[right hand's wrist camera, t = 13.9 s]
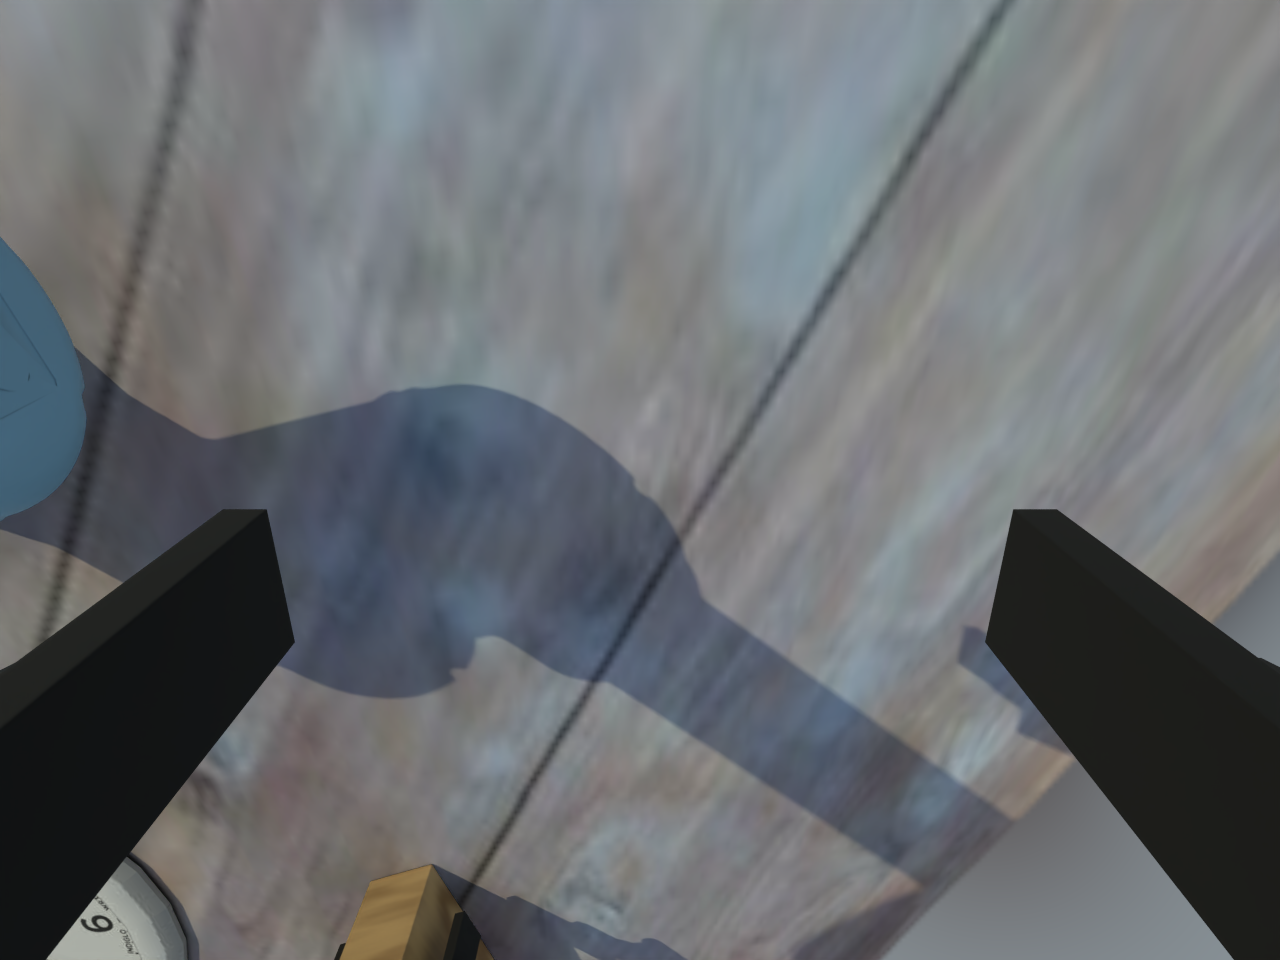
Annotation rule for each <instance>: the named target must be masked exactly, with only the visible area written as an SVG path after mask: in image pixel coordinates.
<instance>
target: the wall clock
mask: <svg viewBox="0 0 1280 960" xmlns="http://www.w3.org/2000/svg"><path fill="white" fill-rule="evenodd" d="M46 960H187V944H186V938H185V935H184V933H183V931H182V929H181V926H180V924H179V922H178V920H177V917H176V915H175V913H174V911H173V909H172V906H171V904H170V902H169V901H168V900H167V899H166V898H165V896H164V895H163V894H162V893H161V892H160V890H159V889H158V888H157V887H156V886H155V884H154V883H153V882H152V881H151V880H150V878H149V877H148V876H147V875H146V874H145V872H144V871H143V870H142V869H141V868H140V867H139V866H138V865H137V864H135V863H134V862H133V861H131V860H130V859H129V858H128V857H126V858H125V859H124V861H123V862H122V863H121V865H120V866H119V867H118V868H117V870H116V871H115V872H114V874H113V875H112V876H111V877H110V879H109V880H108V881H107V882H106V884H105V885H104V886H103V888H102V889H101V890H100V891H99V893H98V894H97V895H96V896H95V898H94V899H93V900H92V902H91V903H90V904H89V905H88V907H87V908H86V909H85V911H84V912H83V913H82V914H81V916H80V917H79V918H78V919H77V921H76V922H75V923H74V925H73V926H72V927H71V928H70V930H69V931H68V932H67V934H66V935H65V936H64V937H63V939H62V940H61V941H60V942H59V944H58V945H57V946H56V948H55V949H54V950H53V951H52V953H51V954H50V955H49V956H48V958H47V959H46Z"/></svg>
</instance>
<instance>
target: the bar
mask: <svg viewBox="0 0 1280 960" xmlns="http://www.w3.org/2000/svg"><path fill="white" fill-rule="evenodd" d="M459 912H463V911H462V910H461V908H460V907H459V905H458V903H457V902H456V900H455V899H454V897H453V896H452V894H451V893H450V891H449V890H448V888H447V887H446V885H445V884H444V882H443V880H442V879H441V877H440V876H439V874H438V873H437V871H436V870H435V868H434V867H433V865H432V864H431V865H427V866H424V867H420V868H417V869H413V870H409V871H406V872H402V873H399V874H395V875H392V876H388V877H384V878H381V879H377V880H374V881H371V882H370V884H369V887H368V889H367V892H366V894H365V897H364V899H363V902H362V904H361V907H360V909H359V912H358V914H357V917H356V919H355V922H354V925H353V927H352V930H351V932H350V935H349V937H348V940H347V942H346V945H345V947H344V950H343V952H342V955H341V957H340V960H443V957H444V954H445V950H446V946H447V942H448V938H449V934H450V931H451V927H452V923H453V919H454V915H455V913H459ZM476 960H494V959H493V957H492V956H491V954H490V953H489V951H488V949H487V948H486V946H485V945H484V943H483V942H482V940H481V939H480V942H479V947H478V951H477V956H476Z"/></svg>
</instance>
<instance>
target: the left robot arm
mask: <svg viewBox="0 0 1280 960" xmlns="http://www.w3.org/2000/svg"><path fill="white" fill-rule="evenodd" d="M84 388H85V384H84V380H83V375H82V371H81V367H80V363H79V360H78V357H77V355H76V352H75V349H74V346H73V343H72V341H71V338H70V336H69V334H68V331H67V329H66V327H65V325H64V323H63V322H62V320H61V318H60V316H59V314H58V312H57V310H56V309H55V307H54V305H53V304H52V302H51V300H50V299H49V297H48V296H47V294H46V293H45V291H44V289H43V288H42V287H41V285H40V284H39V282H38V281H37V280H36V278H35V277H34V275H33V274H32V273H31V271H30V270H29V269H28V267H27V266H26V265H25V264H24V263H23V261H22V260H21V259H20V258H19V257H18V256H17V255H16V254H15V252H14V251H13V250H12V249H11V248H10V247H9V246H8V245H7V244H6V243H5V242H4V241H3V239H2V238H1V237H0V521H2V520H3V519H4V518H5V517H7V516H10V515H13V514H16V513H19V512H22V511H24V510H26V509H28V508H30V507H32V506H34V505H36V504H38V503H39V502H41V501H42V500H44V499H45V498H47V497H48V496H49V495H50V494H51V493H53V492H54V491H55V490H56V489H57V488H58V487H59V486H60V485H61V484H62V483H63V481H64V480H65V479H66V477H67V476H68V475H69V473H70V472H71V470H72V468H73V466H74V465H75V463H76V461H77V458H78V456H79V454H80V451H81V448H82V445H83V440H84V436H85V429H86V420H87V417H86V411H85V409H84V404H83V399H82V393H83V391H84ZM480 938H481V935H480V934H479V932H478V931H477V929H476V928H475V926H474V925H473V923H472V922H471V920H470V919H469V917H468V916H467V914H466V912H465V911H463V912H459V913H455V915H454V919H453V923H452V927H451V931H450V934H449V938H448V942H447V946H446V950H445V954H444V957H443V960H476V956H477V951H478V947H479V942H480ZM345 945H346V943H344V944H341V945H340V947H339V949H338V952H337V954H336V957H335V959H334V960H340V957H341V955H342V952H343V950H344V947H345Z"/></svg>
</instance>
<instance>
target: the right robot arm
mask: <svg viewBox="0 0 1280 960" xmlns="http://www.w3.org/2000/svg"><path fill="white" fill-rule="evenodd" d="M294 643H295V641H294V636H293V631H292V627H291V622H290V617H289V612H288V608H287V603H286V598H285V594H284V589H283V584H282V579H281V575H280V570H279V565H278V561H277V556H276V551H275V546H274V542H273V537H272V532H271V528H270V523H269V518H268V513H267V509H223V510H222V511H220V512H219V513H218V514H216V515H215V516H214V517H212V518H211V519H209V520H208V521H207V522H205V523H204V524H203V525H201V526H200V527H199V528H197V529H196V530H195V531H193V532H192V533H191V534H189V535H188V536H186V537H185V538H184V539H182V540H181V541H180V542H178V543H177V544H176V545H174V546H173V547H172V548H170V549H169V550H167V551H166V552H165V553H163V554H162V555H161V556H159V557H158V558H157V559H155V560H154V561H153V562H151V563H150V564H149V565H147V566H146V567H144V568H143V569H142V570H140V571H139V572H138V573H136V574H135V575H134V576H132V577H131V578H130V579H128V580H127V581H126V582H124V583H123V584H121V585H120V586H119V587H117V588H116V589H115V590H113V591H112V592H111V593H109V594H108V595H107V596H105V597H104V598H102V599H101V600H100V601H98V602H97V603H96V604H94V605H93V606H92V607H90V608H89V609H88V610H86V611H85V612H84V613H82V614H81V615H79V616H78V617H77V618H75V619H74V620H73V621H71V622H70V623H69V624H67V625H66V626H65V627H63V628H62V629H61V630H59V631H58V632H56V633H55V634H54V635H52V636H51V637H50V638H48V639H47V640H46V641H44V642H43V643H42V644H40V645H39V646H37V647H36V648H35V649H33V650H32V651H31V652H29V653H28V654H27V655H25V656H24V657H23V658H21V659H20V660H19V661H17V662H16V663H14V664H12V665H10V666H8V667H6V668H4V669H2V670H0V960H46V959H47V958H48V956H49V955H50V954H51V953H52V951H53V950H54V949H55V948H56V946H57V945H58V944H59V942H60V941H61V940H62V939H63V937H64V936H65V935H66V934H67V932H68V931H69V930H70V928H71V927H72V926H73V925H74V923H75V922H76V921H77V919H78V918H79V917H80V916H81V914H82V913H83V912H84V911H85V909H86V908H87V907H88V905H89V904H90V903H91V902H92V900H93V899H94V898H95V896H96V895H97V894H98V893H99V891H100V890H101V889H102V888H103V886H104V885H105V884H106V882H107V881H108V880H109V879H110V877H111V876H112V875H113V874H114V872H115V871H116V870H117V868H118V867H119V866H120V865H121V863H122V862H123V861H124V859H125V858H126V857H127V856H128V854H129V853H130V852H131V851H132V849H133V848H134V847H135V845H136V844H137V843H138V842H139V840H140V839H141V838H142V837H143V835H144V834H145V833H146V831H147V830H148V829H149V828H150V826H151V825H152V824H153V822H154V821H155V820H156V819H157V817H158V816H159V815H160V814H161V812H162V811H163V810H164V808H165V807H166V806H167V805H168V803H169V802H170V801H171V800H172V798H173V797H174V796H175V794H176V793H177V792H178V791H179V789H180V788H181V787H182V785H183V784H184V783H185V782H186V780H187V779H188V778H189V777H190V775H191V774H192V773H193V771H194V770H195V769H196V768H197V766H198V765H199V764H200V762H201V761H202V760H203V759H204V757H205V756H206V755H207V754H208V752H209V751H210V750H211V748H212V747H213V746H214V745H215V743H216V742H217V741H218V740H219V738H220V737H221V736H222V734H223V733H224V732H225V731H226V729H227V728H228V727H229V725H230V724H231V723H232V722H233V720H234V719H235V718H236V717H237V715H238V714H239V713H240V711H241V710H242V709H243V708H244V706H245V705H246V704H247V703H248V701H249V700H250V699H251V697H252V696H253V695H254V694H255V692H256V691H257V690H258V688H259V687H260V686H261V685H262V683H263V682H264V681H265V680H266V678H267V677H268V676H269V674H270V673H271V672H272V671H273V669H274V668H275V667H276V665H277V664H278V663H279V662H280V660H281V659H282V658H283V657H284V655H285V654H286V653H287V651H288V650H289V649H290V648H291V646H292V645H293V644H294ZM985 643H986V644H987V645H988V646H989V648H990V649H991V650H992V651H993V653H994V654H995V655H996V657H997V658H998V659H999V660H1000V662H1001V663H1002V664H1003V665H1004V667H1005V668H1006V669H1007V671H1008V672H1009V673H1010V674H1011V676H1012V677H1013V678H1014V680H1015V681H1016V682H1017V683H1018V685H1019V686H1020V687H1021V688H1022V690H1023V691H1024V692H1025V694H1026V695H1027V696H1028V697H1029V699H1030V700H1031V701H1032V703H1033V704H1034V705H1035V706H1036V708H1037V709H1038V710H1039V711H1040V713H1041V714H1042V715H1043V717H1044V718H1045V719H1046V720H1047V722H1048V723H1049V724H1050V725H1051V727H1052V728H1053V729H1054V731H1055V732H1056V733H1057V734H1058V736H1059V737H1060V738H1061V740H1062V741H1063V742H1064V743H1065V745H1066V746H1067V747H1068V748H1069V750H1070V751H1071V752H1072V754H1073V755H1074V756H1075V757H1076V759H1077V760H1078V761H1079V762H1080V764H1081V765H1082V766H1083V768H1084V769H1085V770H1086V771H1087V773H1088V774H1089V775H1090V777H1091V778H1092V779H1093V780H1094V782H1095V783H1096V784H1097V785H1098V787H1099V788H1100V789H1101V791H1102V792H1103V793H1104V794H1105V796H1106V797H1107V798H1108V800H1109V801H1110V802H1111V803H1112V805H1113V806H1114V807H1115V808H1116V810H1117V811H1118V812H1119V814H1120V815H1121V816H1122V817H1123V819H1124V820H1125V821H1126V822H1127V824H1128V825H1129V826H1130V828H1131V829H1132V830H1133V831H1134V833H1135V834H1136V835H1137V837H1138V838H1139V839H1140V840H1141V842H1142V843H1143V844H1144V845H1145V847H1146V848H1147V849H1148V851H1149V852H1150V853H1151V854H1152V856H1153V857H1154V858H1155V859H1156V861H1157V862H1158V863H1159V865H1160V866H1161V867H1162V868H1163V870H1164V871H1165V872H1166V874H1167V875H1168V876H1169V877H1170V879H1171V880H1172V881H1173V882H1174V884H1175V885H1176V886H1177V888H1178V889H1179V890H1180V891H1181V893H1182V894H1183V895H1184V896H1185V898H1186V899H1187V900H1188V902H1189V903H1190V904H1191V905H1192V907H1193V908H1194V909H1195V911H1196V912H1197V913H1198V914H1199V916H1200V917H1201V918H1202V919H1203V921H1204V922H1205V923H1206V925H1207V926H1208V927H1209V928H1210V930H1211V931H1212V932H1213V933H1214V935H1215V936H1216V937H1217V939H1218V940H1219V941H1220V942H1221V944H1222V945H1223V946H1224V948H1225V949H1226V950H1227V951H1228V953H1229V954H1230V955H1231V956H1232V958H1233V959H1234V960H1280V667H1278V666H1276V665H1274V664H1272V663H1270V662H1268V661H1266V660H1264V659H1262V658H1257V657H1256V656H1255V655H1253V654H1252V653H1251V652H1249V651H1248V650H1246V649H1245V648H1244V647H1243V646H1241V645H1240V644H1238V643H1237V642H1236V641H1234V640H1233V639H1232V638H1230V637H1229V636H1228V635H1226V634H1225V633H1224V632H1222V631H1221V630H1219V629H1218V628H1217V627H1215V626H1214V625H1213V624H1211V623H1210V622H1209V621H1207V620H1206V619H1205V618H1203V617H1202V616H1201V615H1199V614H1198V613H1196V612H1195V611H1194V610H1192V609H1191V608H1190V607H1188V606H1187V605H1186V604H1184V603H1183V602H1182V601H1180V600H1179V599H1178V598H1176V597H1175V596H1173V595H1172V594H1171V593H1169V592H1168V591H1167V590H1165V589H1164V588H1163V587H1161V586H1160V585H1159V584H1157V583H1156V582H1154V581H1153V580H1152V579H1150V578H1149V577H1148V576H1146V575H1145V574H1144V573H1142V572H1141V571H1140V570H1138V569H1137V568H1136V567H1134V566H1133V565H1131V564H1130V563H1129V562H1127V561H1126V560H1125V559H1123V558H1122V557H1121V556H1119V555H1118V554H1117V553H1115V552H1114V551H1113V550H1111V549H1110V548H1108V547H1107V546H1106V545H1104V544H1103V543H1102V542H1100V541H1099V540H1098V539H1096V538H1095V537H1094V536H1092V535H1091V534H1089V533H1088V532H1087V531H1085V530H1084V529H1083V528H1081V527H1080V526H1079V525H1077V524H1076V523H1075V522H1073V521H1072V520H1071V519H1069V518H1068V517H1066V516H1065V515H1064V514H1062V513H1061V512H1060V511H1058V510H1057V509H1013V513H1012V518H1011V523H1010V528H1009V532H1008V537H1007V542H1006V546H1005V551H1004V556H1003V561H1002V565H1001V570H1000V575H999V579H998V584H997V589H996V594H995V598H994V603H993V608H992V612H991V617H990V622H989V627H988V631H987V636H986V641H985Z"/></svg>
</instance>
